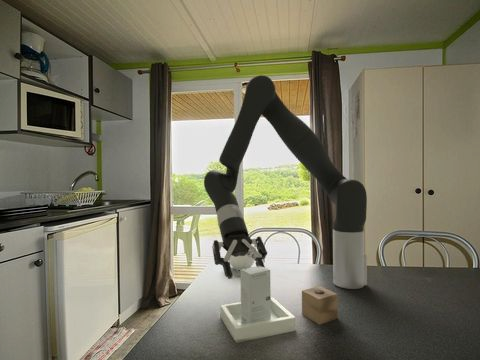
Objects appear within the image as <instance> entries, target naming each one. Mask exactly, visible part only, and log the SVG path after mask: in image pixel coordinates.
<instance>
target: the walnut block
mask: <svg viewBox="0 0 480 360" xmlns="http://www.w3.org/2000/svg"><path fill="white" fill-rule="evenodd" d="M338 301H339V300H338V293H336V292H335V291H334V292H333V291H332V290H329V289H327V288H325V287H322V286H321V285H319V286H314V287H310V288H306V289H303V290H301V315H302V316H304V317H306V318H308V319H309V320H311V321H312V322H314V323H316V324H318V325H323V324H325V323H328V322H331V321H334V320H337V319H339V318H338V317H339V314H338V313H339V311H338V303H339V302H338Z"/></svg>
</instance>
